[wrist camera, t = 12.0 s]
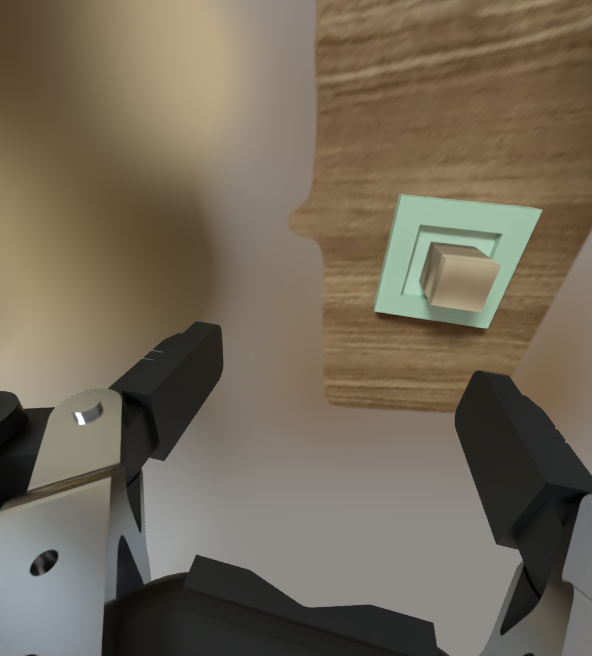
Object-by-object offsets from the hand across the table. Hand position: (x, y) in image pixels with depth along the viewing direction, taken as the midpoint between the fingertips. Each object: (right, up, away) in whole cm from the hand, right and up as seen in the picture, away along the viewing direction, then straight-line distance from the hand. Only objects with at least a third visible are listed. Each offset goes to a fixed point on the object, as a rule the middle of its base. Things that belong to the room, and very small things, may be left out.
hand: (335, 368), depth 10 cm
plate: (+16, +9, +24) cm, 30 cm away
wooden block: (+15, +8, +23) cm, 29 cm away
